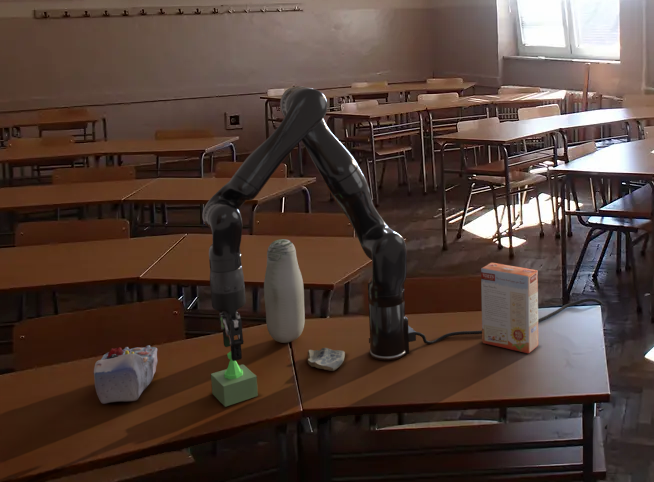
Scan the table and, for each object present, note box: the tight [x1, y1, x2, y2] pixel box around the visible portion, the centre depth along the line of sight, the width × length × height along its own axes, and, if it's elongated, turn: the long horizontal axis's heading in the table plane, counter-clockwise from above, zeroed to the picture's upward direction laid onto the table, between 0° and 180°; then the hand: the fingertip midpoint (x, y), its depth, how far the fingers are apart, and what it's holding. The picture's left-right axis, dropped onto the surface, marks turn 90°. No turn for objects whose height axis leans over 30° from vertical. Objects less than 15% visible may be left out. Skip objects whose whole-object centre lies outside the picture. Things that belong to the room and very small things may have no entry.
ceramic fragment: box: [307, 347, 346, 372], centre depth 210 cm, size 11×3×10 cm
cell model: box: [93, 345, 159, 405], centre depth 198 cm, size 13×11×20 cm
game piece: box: [224, 350, 243, 379], centre depth 193 cm, size 4×4×6 cm
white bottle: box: [263, 239, 306, 344], centre depth 222 cm, size 10×10×28 cm
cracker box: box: [480, 262, 539, 354], centre depth 216 cm, size 14×6×21 cm, turn 58°
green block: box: [210, 364, 259, 408], centre depth 194 cm, size 8×8×5 cm
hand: (232, 352), depth 193 cm, fingers open, 8 cm apart
